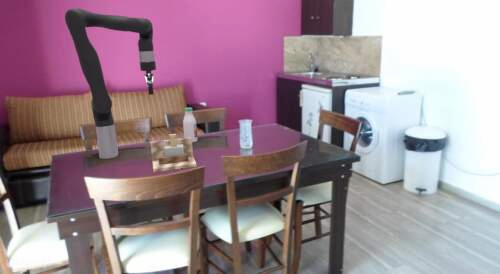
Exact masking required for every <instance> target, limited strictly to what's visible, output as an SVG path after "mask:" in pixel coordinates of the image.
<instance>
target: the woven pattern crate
mask: <svg viewBox="0 0 500 274" xmlns="http://www.w3.org/2000/svg"><path fill="white" fill-rule="evenodd" d="M176 141H177V145H179V144H183V148H184V155H181V156H172V157H165V149H164V146H170V139H164V140H157V141H156V140H154V141H150V142H149V143H150V151H151V153H150V154H151V159H152V169H153V170H152V171H153V173H159V172H165V171H167V172H168V171H173V170H174V169H175V170H182V169H181V168H183V169H191V168H196V167H197V162H196V160H195V157H194V153H193V152H194V150H193V149H194V148H193V143H192V138H191V137H190V138H184V137H183V138H176Z"/></svg>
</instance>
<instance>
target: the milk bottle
mask: <svg viewBox="0 0 500 274" xmlns="http://www.w3.org/2000/svg"><path fill="white" fill-rule="evenodd" d="M182 127H183V138H190V137H191V138H192V144H193V143H196V142H198V140H199V139H198V128H197V121H196V118H195V116H194V114H193V107H190V106H189V107H185V108H184V117H183V121H182Z"/></svg>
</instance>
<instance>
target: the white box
mask: <svg viewBox="0 0 500 274" xmlns="http://www.w3.org/2000/svg"><path fill="white" fill-rule="evenodd" d="M176 139H177V134H176V133H169V140H170V146H164V149H165V157H172V156H181V155H184V148H183V144H179V145H177V141H176Z"/></svg>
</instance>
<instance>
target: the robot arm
mask: <svg viewBox="0 0 500 274" xmlns="http://www.w3.org/2000/svg"><path fill="white" fill-rule="evenodd" d="M64 20H65V24H66V26H67V29H68V31H69V33H70V36H71V39H72V41H73V44H74V47H75V51H76V54H77V58H78V62H79V66H80V68H81V70H82V74H83V76H84V78H85V80H86V82H87V84H88V87H89V89H90V92H91V102H90V103H91V110H92V115H93V119H94V120H93V121H94V125H95V131H96V138H97V141H96V143H97V148H98V149H97V150H98V155H99V156H98V157H99V159H103V160H107V159H108V160H109V159H114V158H117V157H118V156H119V150H118V149H119V148H118V141H117V135H116V133H117V132H116V128H115V121H114V117H113V113H112V107H113V102H112V99H111V96H110V94H109V92H108V89H107V87H106V83H105V78H104V72H103V69H102V68H103V67H102V65H101V61H100V57H99V55H98V53H97V50H96V49H95V48H94V45H93V44H92V43H91V41H90V39H89V37H88V33H87V30H86V28H103V29H107V30H112V31H118V32H130V33H137V34H138V35H139V39H138V40H137V46H138V60H139V67H140V71H142V72H145V73H144V79H145V83H146V85H147V89H148V95H150V96H153V95H154V87H153V86H154V73H152V71H155V70H157V65H156V56H155V55H156V54H155V51H154V43H153V39H154V38H153V37H154V36H153V35H154V28H153V23H152V22H151V20H149V19H148V18H143V17H131V16H124V15H117V14H116V15H115V14H114V15H113V14H101V13H95V12H92V11H89V10H85V9H82V8H70V9H68V10H67V11H66V12H65V14H64Z"/></svg>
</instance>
